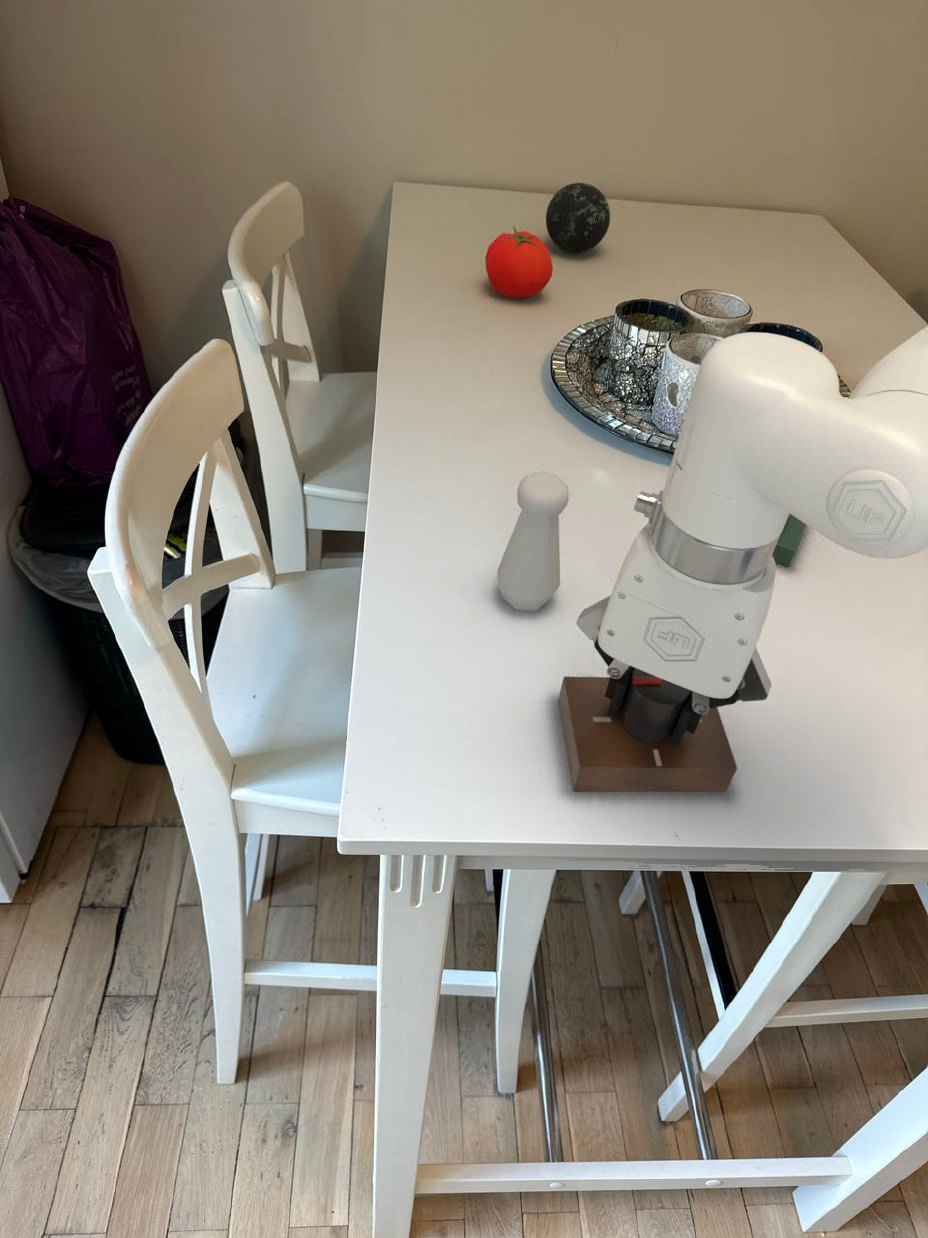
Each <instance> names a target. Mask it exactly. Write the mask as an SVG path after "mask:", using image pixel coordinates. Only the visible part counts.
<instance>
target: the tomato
mask: <svg viewBox="0 0 928 1238" xmlns="http://www.w3.org/2000/svg"><path fill="white" fill-rule="evenodd" d="M512 227H513V231H514V233H508V232H507V233H506V232H502V233H501V234H499V235H498V236H497V237H496V238H495V239H494V240H493V241H492V242H491V243H490V244H489V245H488V247H487V251H486V254H485V256H484V257H485V259H484V260H485V271H486V274H487V278H488V281H489V284H490V286H491V287H492V289H493V290H494V291H495V292H496V293H497V294H499V295H502V296H506V297H509V298H517V299H518V298H519V299H520V298H521V299H522V298H525V297H532V296H535V295H536V294H538V293H540V292H541V291H543V290H544V289H545V287H546V286H547V285H548V284H549V282H550V281H551V278H552V277H553V271H554V266H553V260H552V256H551V254H550V252H549V249H548V246H547V245H546V244H545V243H544V242H543V241H542V240H541V239H540V238H539V236H537V234H533V233H531V232H529V231H524V230H522V231H521V230H519V231H518V230H517V229H516V227H515V226H514V225H512Z"/></svg>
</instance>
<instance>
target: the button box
mask: <svg viewBox="0 0 928 1238" xmlns="http://www.w3.org/2000/svg"><path fill="white" fill-rule="evenodd" d="M806 527H807V525H806V524H805V523H803V522H802V521H800V520H799V519H797V518H796V517H794V516H793V515H791V514H789V516H788V519H787V521H786V524H785V526H784V528H783V531H782V533H781V535H780V537H779V540H778V542H777V544H776V547H775V549H774V551H773V554H772V556H773V558H774V560H775V564H777V565H780V566H784V567H786V568H790V566H791V564H792V561H793V560H794V557H795V555H796V553H797V550H798V548H799V544H800V542H801V540H802V538H803V537H802V536H803V534H804V532H805V529H806Z"/></svg>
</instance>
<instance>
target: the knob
mask: <svg viewBox="0 0 928 1238" xmlns="http://www.w3.org/2000/svg"><path fill="white" fill-rule="evenodd" d="M689 694H690V690H689V689H686V688H684V687H681V686H679V685H676V684H674V683H671V682H669V681H666V680H664V679H661V678H659V677H656V676H654V675H651V674H649V673H647V672H644V671H642V670H639V669H637V668H635V669H634V670H633V672H632V675H631V678H630V681H629V685H628V688H627V691H626V694H625V697H624V700H623V704H622V707H621V710H620V721H621V724H622V726H623V727H624V729H625V730H626V731H627V732H628V733H629V734H630V735H632V736H633V737H635V738H637V739H639V740H641V741H645V742H652V743H655V742H661V741H664V740H667V739H668V738H670V737H671V736H672V735H673V733H674V730H675V728H676V725H677V723H678V720H679V718H680V715H681V713H682V710H683V708H684V705H685V703H686V701H687V698H688V696H689Z"/></svg>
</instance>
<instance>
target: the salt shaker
mask: <svg viewBox="0 0 928 1238" xmlns="http://www.w3.org/2000/svg"><path fill="white" fill-rule="evenodd" d="M569 492H570V491H569V487H568V484H567V483H566V482H565V481H564V480H563V479H562V478H561V477H560V476H558V475H556V474H554V473H551V472H547V471H535V472H532V473H529V474H527V475H525V476H524V477H523V478H522V479H521V481H520V482H519V484H518V486H517V492H516V496H517V497H516V499H517V505H518V506H519V507H520V509H521V511H520V513H519V515H518V518H517V520H516V523H515V526H514V527H513V530H512V533H511V536H510V537H509V540H508V542H507V546H506V547H505V550H504V552H503V555H502V558H501V560H500V562H499V565H498V567H497V570H496V581H497V582H496V583H497V586H498V589H499V591H500V593H501V597H502V599H503V600H505V602H507V603H508V605H510V606H511V607H512V608H513V609H514V610H515V611H526V612H527V611H528V612H536V611H538V610H539V609H540V608H541V607H543V606H544V605H545V604H546V603H547V602H548V601H549V600H550V599H552V597H554V595H555V594H556V592H557V591H558V589H560V588H559V587H560V585H561V558H560V557H561V556H560V555H561V554H560V553H561V552H560V515H561V514H562V513H563V511H564V510H565V509H566V508H567V506H568V502H569V496H570V495H569V494H570V493H569Z"/></svg>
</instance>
